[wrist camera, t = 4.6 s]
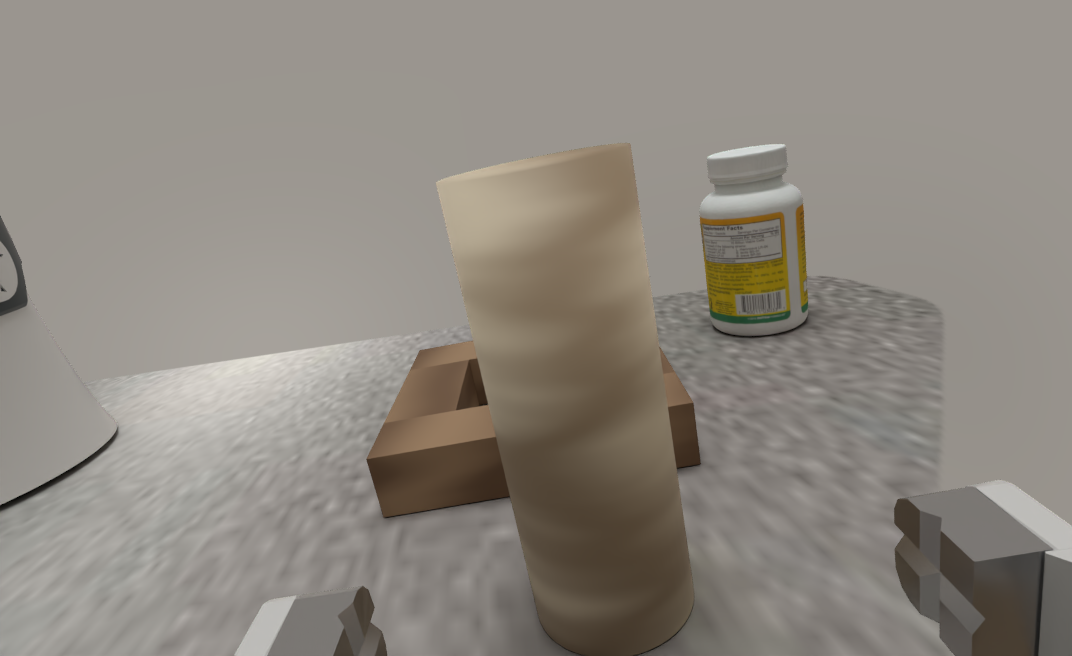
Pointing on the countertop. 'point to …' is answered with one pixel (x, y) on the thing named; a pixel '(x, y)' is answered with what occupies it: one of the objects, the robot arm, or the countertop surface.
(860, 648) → the countertop surface
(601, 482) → the dowel
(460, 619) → the countertop surface
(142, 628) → the countertop surface
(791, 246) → the supplement bottle
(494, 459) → the socket block
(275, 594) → the countertop surface
